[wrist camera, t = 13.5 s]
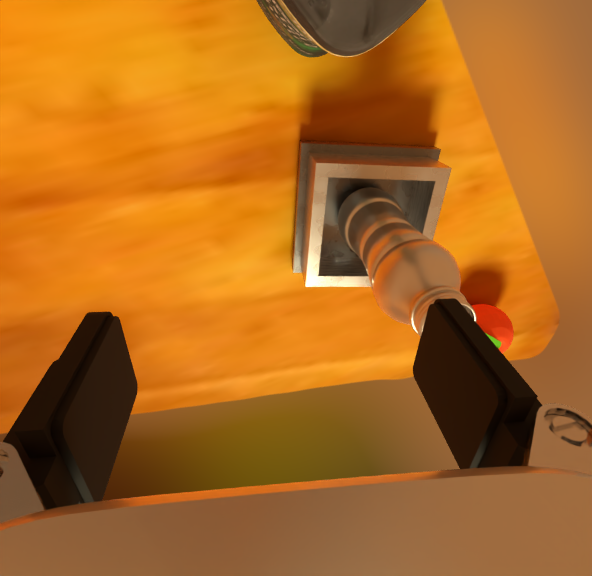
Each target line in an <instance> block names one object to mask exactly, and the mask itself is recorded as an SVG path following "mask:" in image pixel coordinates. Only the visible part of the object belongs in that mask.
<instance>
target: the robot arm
mask: <svg viewBox="0 0 592 576" xmlns="http://www.w3.org/2000/svg"><path fill="white" fill-rule="evenodd" d="M413 374H414V378H415V380H416V382H417V384H418V386H419V388H420V390H421V392H422V394H423V396H424V398H425V400H426V402H427V404H428V406H429V408H430V410H431V412H432V414H433V416H434V417H435V420H436V422H437V424H438V426H439V428H440V430H441V432H442V434H443V436H444V438H445V440H446V442H447V444H448V446H449V448H450V450H451V452H452V454H453V455H454V458H455V460H456V461H457V463H458V466H459V468H460V469H456V470H441V471H429V472H417V473H404V474H392V475H380V476H367V477H355V478H343V479H332V480H321V481H308V482H297V483H286V484H274V485H263V486H251V487H240V488H230V489H218V490H207V491H196V492H187V493H186V492H185V493H175V494H165V495H153V496H144V497H136V498H126V499H116V500H108V501H102V499H103V496H104V493H105V490H106V487H107V484H108V481H109V478H110V475H111V472H112V469H113V465H114V463H115V459H116V456H117V453H118V450H119V447H120V444H121V441H122V438H123V435H124V432H125V429H126V426H127V423H128V420H129V416H130V414H131V411H132V407H133V404H134V401H135V398H136V395H137V380H136V377H135V373H134V370H133V366H132V362H131V359H130V355H129V352H128V348H127V344H126V341H125V337H124V333H123V330H122V326H121V323H120V319H119V318H118V317H117V316H113V315H112V313H111V312H89V313H87V314H86V316H85V317H84V319H83V320H82V322H81V324H80V325H79V327H78V329H77V330H76V332H75V333H74V335H73V337H72V338H71V340H70V342H69V343H68V345H67V346H66V348H65V350H64V351H63V353H62V355H61V356H60V358H59V359H58V360H56V361H54V362H53V363H52V365H51V366H50V367H49V369H48V370H47V372H46V374H45V375H44V377H43V378H42V380H41V382H40V383H39V385H38V386H37V388H36V390H35V391H34V393H33V394H32V396H31V398H30V399H29V401H28V402H27V404H26V405H25V407H24V409H23V410H22V412H21V413H20V415H19V417H18V418H17V420H16V421H15V423H14V425H13V426H12V428H11V429H10V431H9V433H8V434H7V436H6V437H5V439H4V440H3V442H0V576H592V419H591V418H590V417H588V416H587V415H586V414H584V413H583V412H581V411H579V410H577V409H574V408H572V407H569V406H566V405H563V404H556V403H550V404H545V405H543V406H542V404H541V403H540V402H539V401H538V400H537V395H536V394H535V393H534V391H533V390H532V389H531V388H530V387H529V385H528V384H527V383H526V382H525V381H524V379H523V378H522V377H521V376H520V375H519V373H518V372H517V371H516V370H515V368H514V367H513V366H512V365H511V364H510V362H509V361H508V360H507V359H506V358H505V356H504V355H503V354H502V353H501V352H500V350H499V349H498V348H497V347H496V346H495V344H494V343H493V342H492V341H491V340H490V338H489V337H488V336H487V335H486V334H485V332H484V331H483V330H482V329H481V328H480V326H479V325H478V324H477V323H476V321H475V320H474V319H473V318H472V317H471V315H470V314H469V313H468V312H467V311H466V309H465V308H464V307H463V306H462V305H461V303H460V302H459V301H458V300H457V299H455V298H450V299H436V300H435V301H434V304H430V305H429V307H428V311H427V315H426V319H425V323H424V326H423V330H422V334H421V338H420V342H419V346H418V350H417V354H416V358H415V362H414V365H413Z"/></svg>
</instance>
